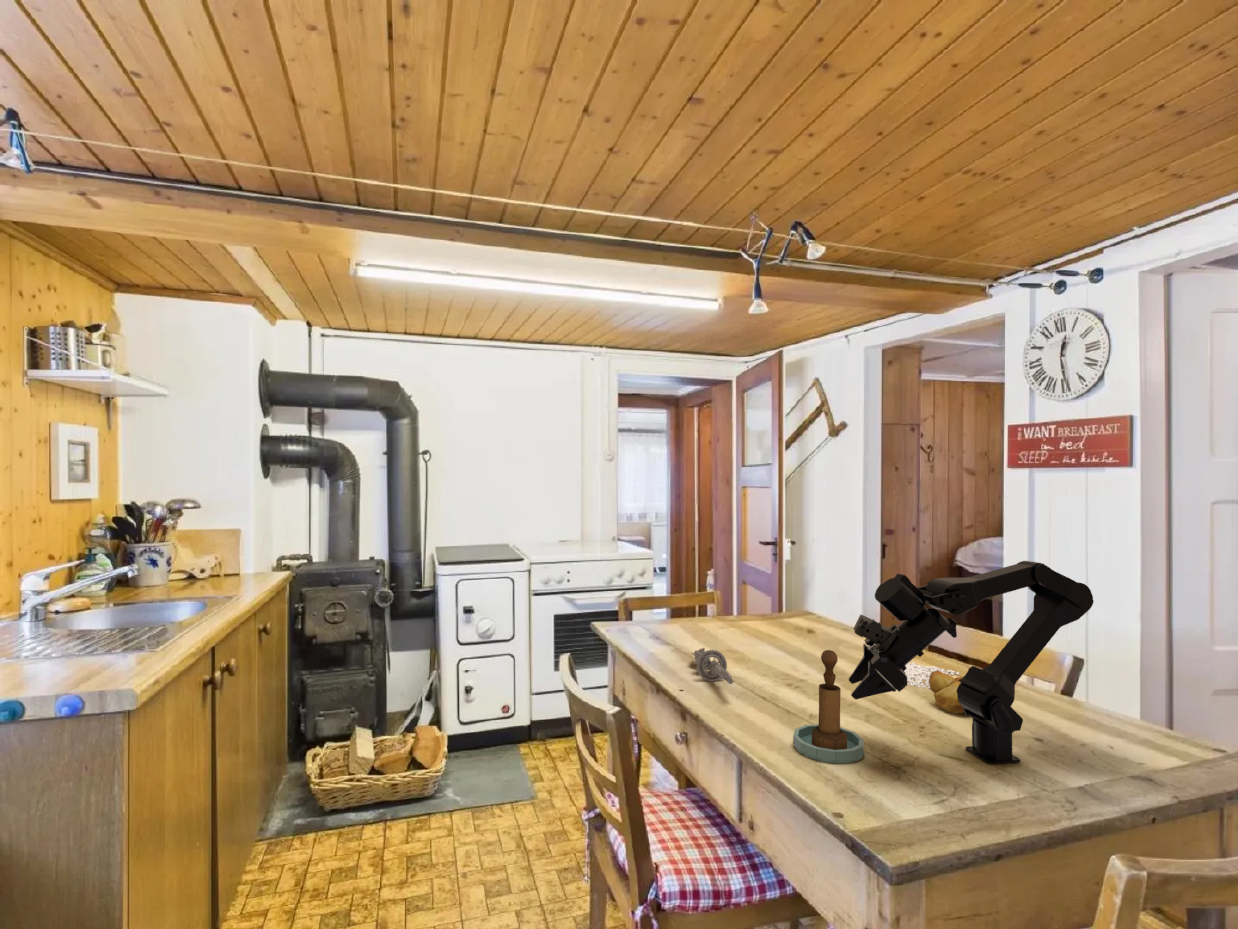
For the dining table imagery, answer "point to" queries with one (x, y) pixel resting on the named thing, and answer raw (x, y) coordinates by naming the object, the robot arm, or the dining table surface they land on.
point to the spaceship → (711, 665)
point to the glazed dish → (849, 755)
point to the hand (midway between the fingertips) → (851, 689)
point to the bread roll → (945, 691)
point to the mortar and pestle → (829, 709)
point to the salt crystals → (922, 670)
